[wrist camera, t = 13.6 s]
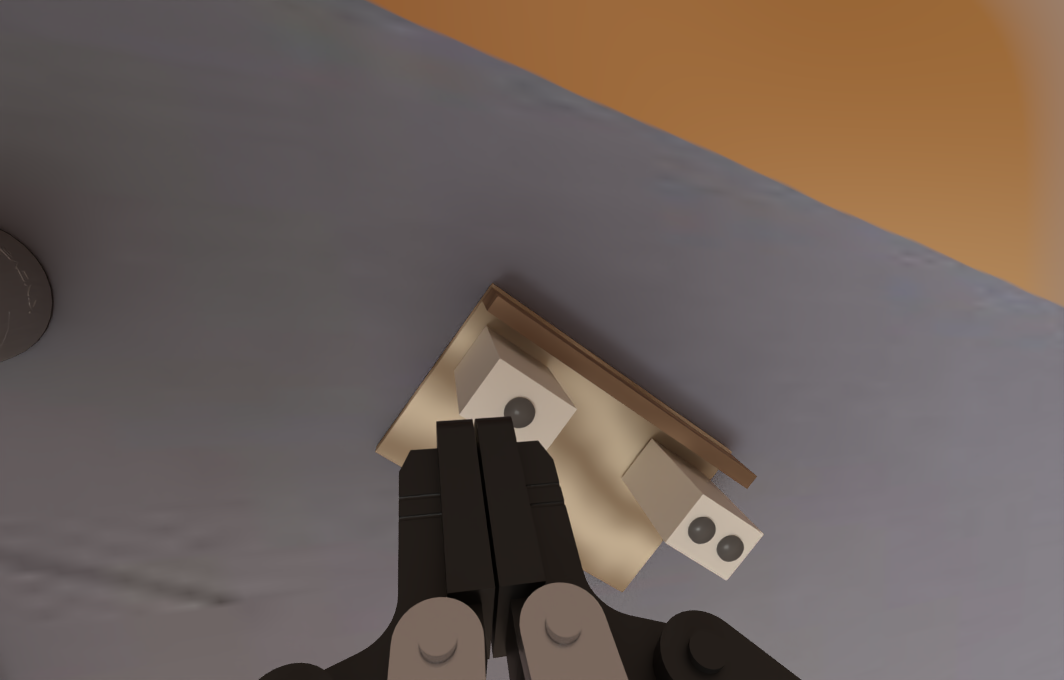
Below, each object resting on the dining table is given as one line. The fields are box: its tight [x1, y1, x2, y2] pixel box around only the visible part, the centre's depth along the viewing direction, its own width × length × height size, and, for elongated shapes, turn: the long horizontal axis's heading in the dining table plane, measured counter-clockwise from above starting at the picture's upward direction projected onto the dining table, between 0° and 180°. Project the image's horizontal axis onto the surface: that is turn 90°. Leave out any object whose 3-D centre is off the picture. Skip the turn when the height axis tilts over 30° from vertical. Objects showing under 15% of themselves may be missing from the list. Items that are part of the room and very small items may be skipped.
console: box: [375, 283, 757, 592], centre depth 43 cm, size 15×24×5 cm, turn 54°
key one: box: [454, 326, 577, 451], centre depth 37 cm, size 4×6×9 cm
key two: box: [622, 439, 764, 581], centre depth 42 cm, size 4×6×9 cm
